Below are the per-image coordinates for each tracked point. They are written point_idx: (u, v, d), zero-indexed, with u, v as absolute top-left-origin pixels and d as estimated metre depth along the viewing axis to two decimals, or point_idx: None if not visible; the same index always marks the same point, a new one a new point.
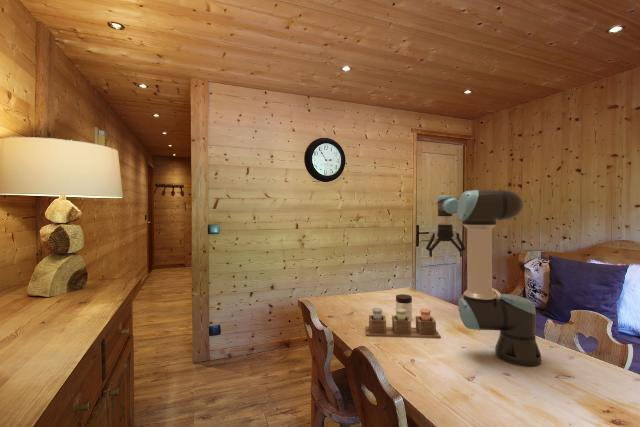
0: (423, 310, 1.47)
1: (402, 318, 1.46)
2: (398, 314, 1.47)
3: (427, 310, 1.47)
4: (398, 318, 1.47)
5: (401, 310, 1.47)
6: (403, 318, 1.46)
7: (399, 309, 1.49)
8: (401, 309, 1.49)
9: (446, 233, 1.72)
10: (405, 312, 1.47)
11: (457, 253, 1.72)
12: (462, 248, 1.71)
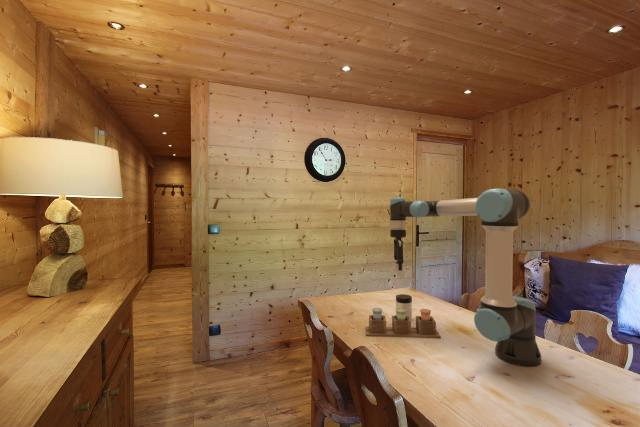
0: (423, 310, 1.47)
1: (402, 318, 1.46)
2: (398, 314, 1.47)
3: (427, 310, 1.47)
4: (398, 318, 1.47)
5: (401, 310, 1.47)
6: (403, 318, 1.46)
7: (399, 309, 1.49)
8: (401, 309, 1.49)
9: (396, 239, 1.55)
10: (405, 312, 1.47)
11: None
12: None
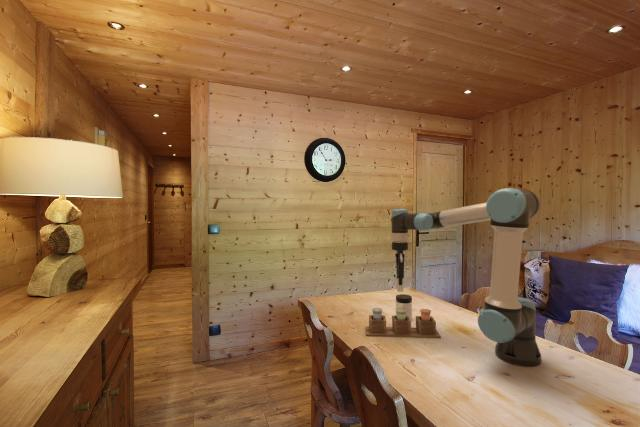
0: (423, 310, 1.47)
1: (402, 318, 1.46)
2: (398, 314, 1.47)
3: (427, 310, 1.47)
4: (398, 318, 1.47)
5: (401, 310, 1.47)
6: (403, 318, 1.46)
7: (399, 309, 1.49)
8: (401, 309, 1.49)
9: (397, 252, 1.50)
10: (405, 312, 1.47)
11: None
12: None
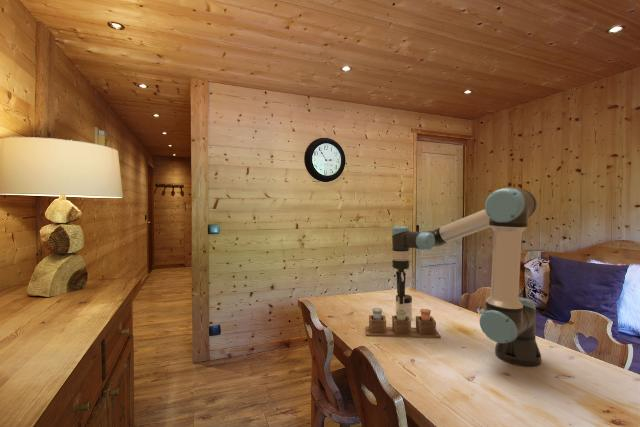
0: (423, 310, 1.47)
1: (402, 319, 1.46)
2: (398, 315, 1.47)
3: (427, 310, 1.47)
4: (398, 319, 1.47)
5: (401, 311, 1.47)
6: (403, 319, 1.46)
7: None
8: None
9: (398, 270, 1.48)
10: (405, 313, 1.47)
11: None
12: None
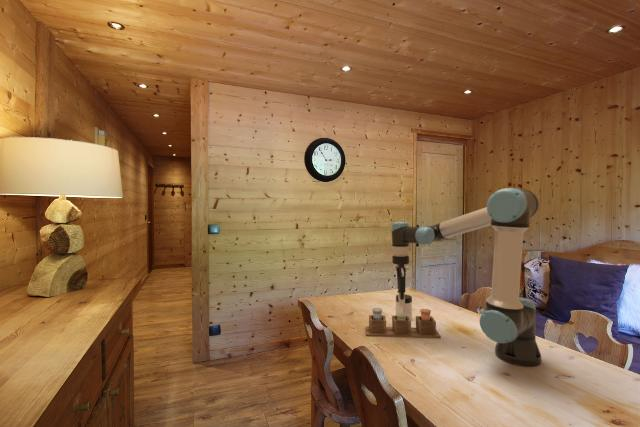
0: (423, 310, 1.47)
1: None
2: (398, 319, 1.47)
3: (427, 310, 1.47)
4: None
5: (401, 315, 1.47)
6: None
7: (399, 314, 1.49)
8: (401, 314, 1.49)
9: (398, 266, 1.48)
10: (405, 317, 1.47)
11: None
12: None
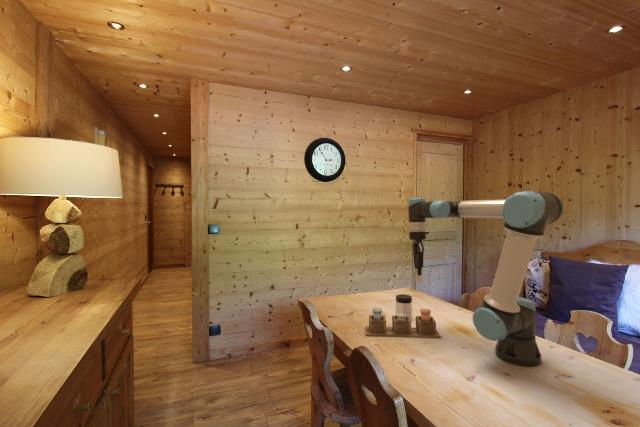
0: (423, 310, 1.47)
1: None
2: (398, 319, 1.47)
3: (427, 310, 1.47)
4: None
5: (401, 315, 1.47)
6: None
7: (399, 314, 1.49)
8: (401, 314, 1.49)
9: (415, 242, 1.48)
10: (405, 317, 1.47)
11: None
12: None
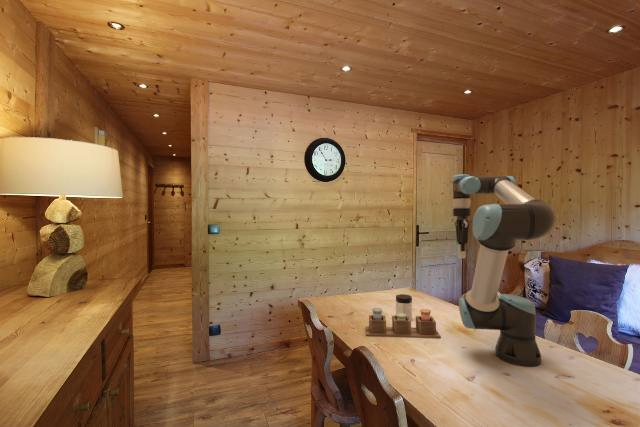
0: (423, 310, 1.47)
1: None
2: (398, 319, 1.47)
3: (427, 310, 1.47)
4: None
5: (401, 315, 1.47)
6: None
7: (399, 314, 1.49)
8: (401, 314, 1.49)
9: (459, 218, 1.49)
10: (405, 317, 1.47)
11: None
12: None
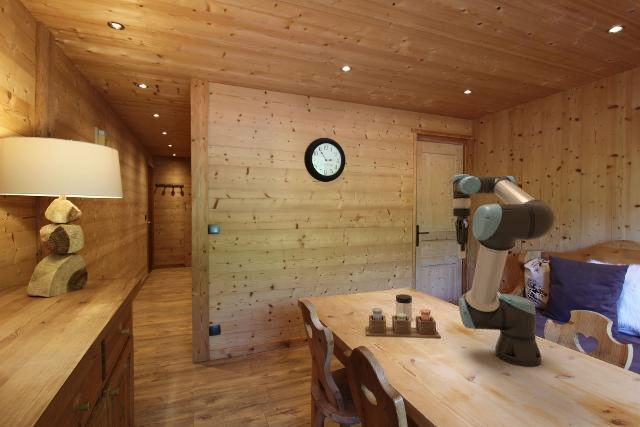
0: (423, 310, 1.47)
1: None
2: (398, 319, 1.47)
3: (427, 310, 1.47)
4: None
5: (401, 315, 1.47)
6: None
7: (399, 314, 1.49)
8: (401, 314, 1.49)
9: (459, 218, 1.49)
10: (405, 317, 1.47)
11: None
12: None
